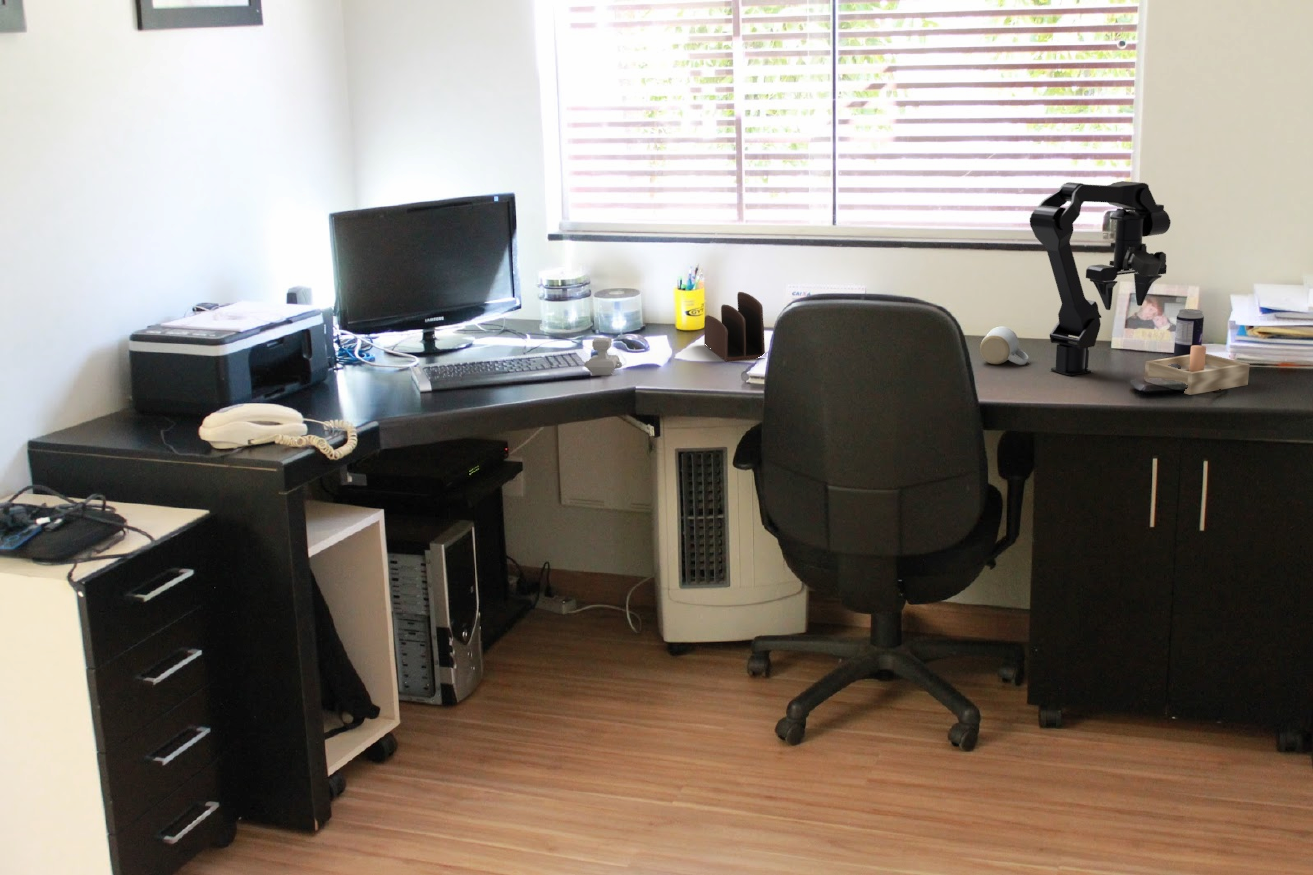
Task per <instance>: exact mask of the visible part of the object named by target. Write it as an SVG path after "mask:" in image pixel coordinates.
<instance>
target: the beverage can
mask: <svg viewBox="0 0 1313 875" xmlns="http://www.w3.org/2000/svg"><path fill="white" fill-rule="evenodd" d="M1204 318H1205V317H1204V314H1203V310H1200V309H1195V308H1194V309H1193V308H1186V309H1185V308H1184V309H1179V311H1178V314H1177V315H1176V323H1175V334H1174V335H1175V336H1174V347H1173V348H1174V349H1173V357H1177V356H1183V355H1190V352H1191V346H1193V345H1201V346H1203V344H1202V343H1203V332H1204V321H1205V320H1204Z"/></svg>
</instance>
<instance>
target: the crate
mask: <svg viewBox="0 0 1313 875" xmlns="http://www.w3.org/2000/svg"><path fill="white" fill-rule="evenodd" d="M1171 364H1178V365H1180V366H1181V369H1178V368H1175V367H1171V366H1168V365H1171ZM1189 364H1190V355H1183V356H1177V357H1174V356H1173V357H1166V358H1158V359H1152V360H1147V361H1145V368H1144V379H1149V378H1161V379H1165V380H1175V381H1180V382H1183V383H1185V384H1186V385H1188V388H1187V389H1185V391H1184V393H1183V394H1186V395H1190V396H1191V395H1197V394H1203V393H1208V392H1214V391H1220V390H1219V389H1221V390H1227V389H1231V388H1238V387H1242V386H1244V387H1245V386H1248V384H1249V374H1250V367H1251V366H1250V363H1247V362H1242V361H1238V360H1234V359H1231V358H1226V357H1221V356H1217V355H1213V354H1210V353H1206V355H1205V367H1204V370H1202V371H1196V372H1190V371H1189Z"/></svg>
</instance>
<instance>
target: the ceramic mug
mask: <svg viewBox="0 0 1313 875" xmlns="http://www.w3.org/2000/svg"><path fill="white" fill-rule="evenodd" d="M979 353H980V355H981V358H982V359H983V360H984V361H985V362H986V363H988V364H991V365H1001V364H1003V363H1005V362H1007V361H1009V362H1012V363H1014V364H1016V365H1021V366H1023V365H1026V364H1027V362H1028V360H1029V358H1030V357H1029V356H1028V354H1027V353H1026V352H1024V351H1023V350H1022V349H1020V341H1019V338H1018V335H1017V333H1016V332H1015V331H1014V330H1012V329H1011V328H1009V327H1007V326H1002V325H1001V326H997V327H993V328H992V329H990V331H989V332H988V333H987V335H985V336H984V338H983V339H982V341H981V343H980V345H979ZM1015 355H1016V356H1015Z"/></svg>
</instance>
